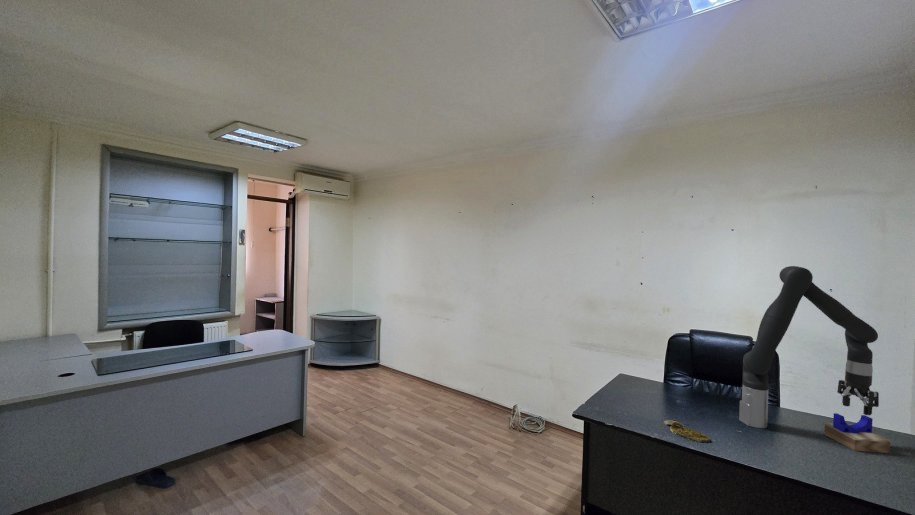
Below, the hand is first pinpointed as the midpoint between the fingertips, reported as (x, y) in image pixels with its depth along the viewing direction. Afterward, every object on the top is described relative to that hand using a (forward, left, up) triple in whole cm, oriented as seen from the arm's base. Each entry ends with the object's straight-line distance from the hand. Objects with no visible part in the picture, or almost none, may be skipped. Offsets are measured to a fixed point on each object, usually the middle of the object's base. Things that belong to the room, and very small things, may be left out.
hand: (856, 410), depth 150 cm
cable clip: (0, 0, -9) cm, 9 cm away
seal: (-67, -2, -15) cm, 69 cm away
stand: (0, 0, -14) cm, 14 cm away
